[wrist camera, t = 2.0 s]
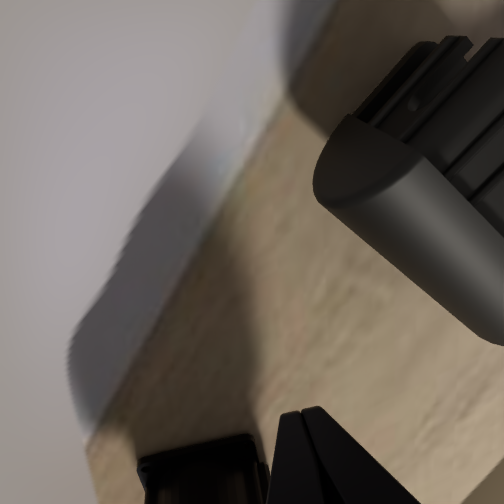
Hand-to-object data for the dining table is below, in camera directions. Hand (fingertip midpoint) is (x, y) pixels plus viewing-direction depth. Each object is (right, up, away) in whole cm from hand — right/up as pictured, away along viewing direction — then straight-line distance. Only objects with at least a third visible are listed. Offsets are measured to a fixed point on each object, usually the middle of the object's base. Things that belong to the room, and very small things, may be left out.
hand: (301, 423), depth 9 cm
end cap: (+7, +7, +11) cm, 15 cm away
